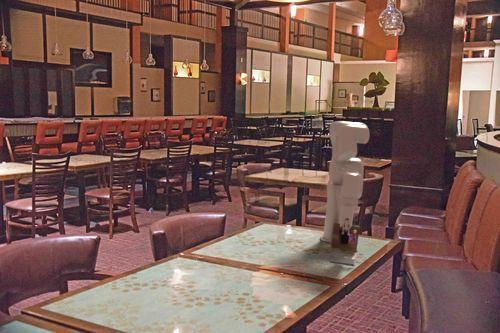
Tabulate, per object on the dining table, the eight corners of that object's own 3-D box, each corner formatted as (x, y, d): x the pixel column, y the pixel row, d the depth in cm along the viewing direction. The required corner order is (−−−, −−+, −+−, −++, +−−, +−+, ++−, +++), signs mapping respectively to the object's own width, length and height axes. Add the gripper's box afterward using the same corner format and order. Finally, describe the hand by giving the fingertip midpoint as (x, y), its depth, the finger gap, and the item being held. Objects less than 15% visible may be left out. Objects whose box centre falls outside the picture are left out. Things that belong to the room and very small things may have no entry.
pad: (331, 257, 231) (331, 255, 231) (354, 260, 229) (354, 259, 229) (330, 262, 223) (330, 260, 223) (353, 265, 221) (353, 264, 221)
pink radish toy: (339, 229, 222) (357, 229, 225) (333, 230, 226) (351, 230, 229) (340, 245, 220) (358, 244, 223) (334, 245, 225) (352, 245, 228)
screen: (331, 246, 247) (333, 222, 246) (356, 250, 245) (359, 225, 244) (330, 248, 245) (333, 223, 244) (356, 251, 243) (359, 226, 242)
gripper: (341, 197, 231) (336, 236, 234) (339, 203, 215) (335, 245, 217) (357, 199, 230) (353, 238, 232) (357, 205, 213) (353, 248, 215)
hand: (344, 241), depth 224 cm, fingers closed on pink radish toy, 5 cm apart
